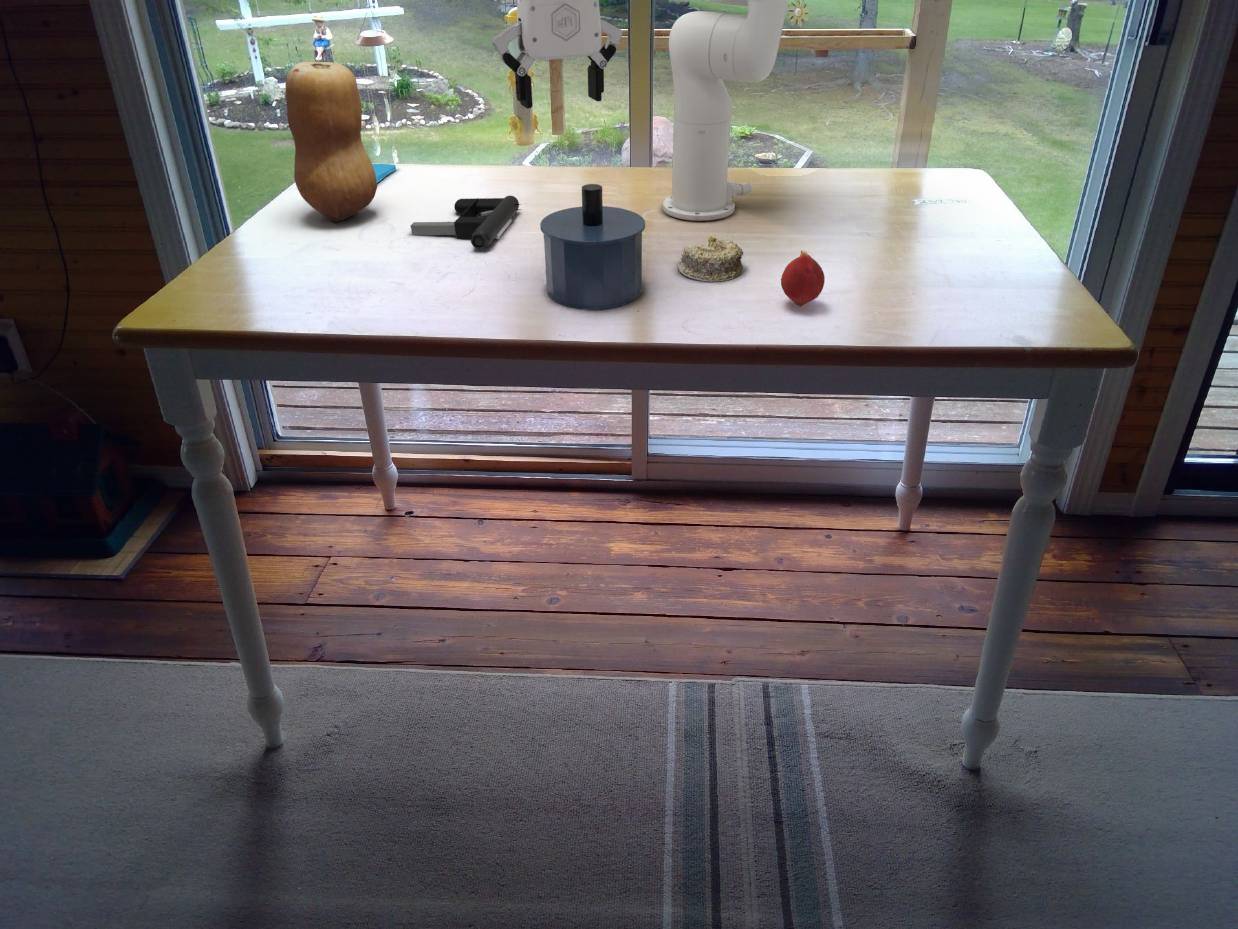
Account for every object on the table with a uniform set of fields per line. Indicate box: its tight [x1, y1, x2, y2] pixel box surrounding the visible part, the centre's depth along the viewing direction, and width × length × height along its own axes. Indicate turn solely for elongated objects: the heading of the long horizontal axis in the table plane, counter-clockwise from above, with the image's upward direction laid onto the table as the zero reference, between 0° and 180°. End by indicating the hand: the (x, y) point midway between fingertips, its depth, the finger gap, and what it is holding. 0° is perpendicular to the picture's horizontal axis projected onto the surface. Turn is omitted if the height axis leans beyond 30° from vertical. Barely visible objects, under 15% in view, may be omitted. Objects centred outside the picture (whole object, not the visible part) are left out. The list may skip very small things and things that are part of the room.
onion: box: [780, 249, 826, 307], centre depth 128 cm, size 6×6×8 cm
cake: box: [677, 235, 744, 283], centre depth 140 cm, size 10×10×5 cm
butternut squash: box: [284, 61, 378, 223], centre depth 156 cm, size 14×13×25 cm
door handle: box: [410, 195, 522, 250], centre depth 157 cm, size 3×20×16 cm
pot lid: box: [539, 183, 646, 245], centre depth 129 cm, size 15×15×6 cm
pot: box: [543, 232, 643, 311], centre depth 133 cm, size 14×14×10 cm
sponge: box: [372, 163, 397, 184], centre depth 182 cm, size 2×12×6 cm
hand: (561, 102), depth 124 cm, fingers open, 9 cm apart
